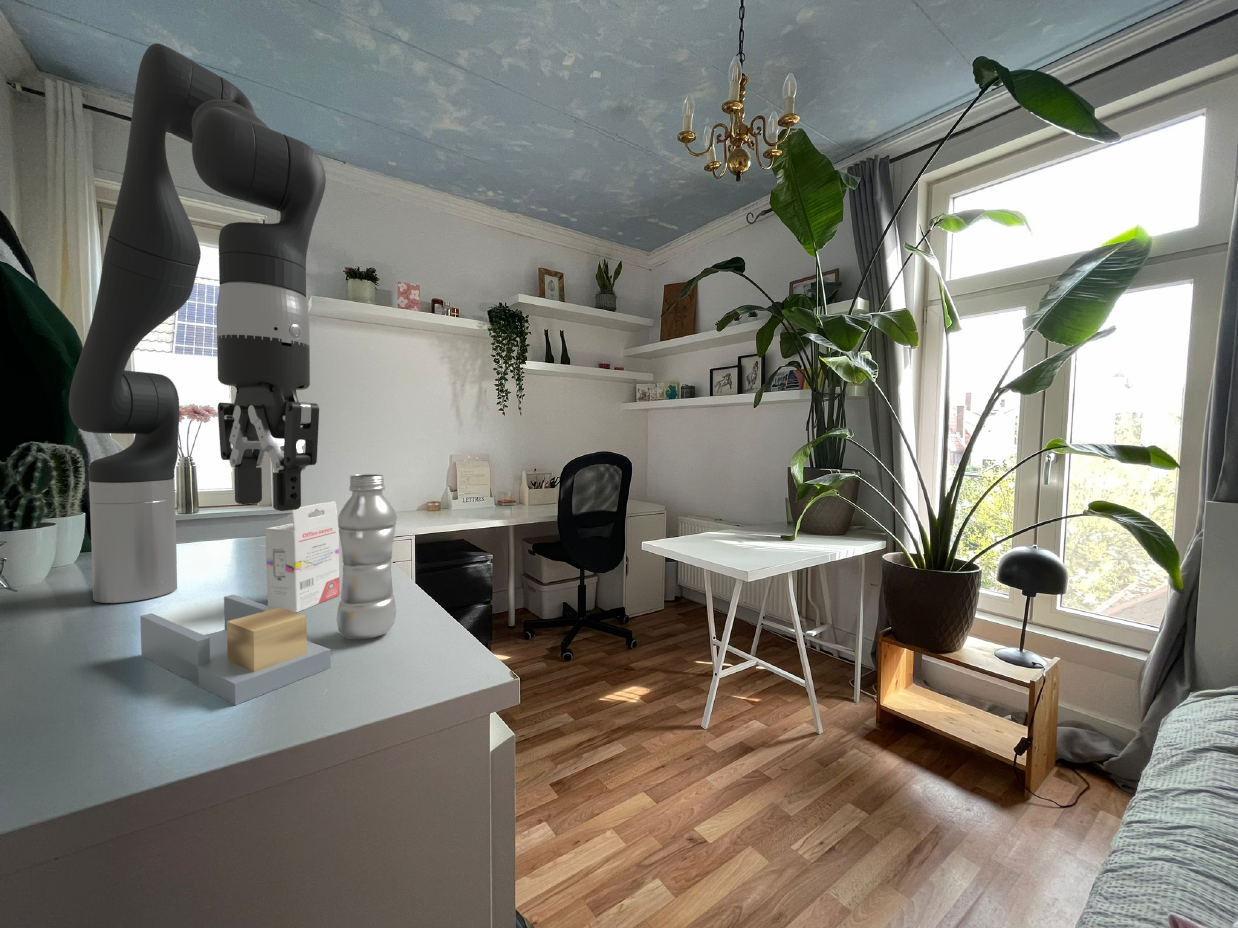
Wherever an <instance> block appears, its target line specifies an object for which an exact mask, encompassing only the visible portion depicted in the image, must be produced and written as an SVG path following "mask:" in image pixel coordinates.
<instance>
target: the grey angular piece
mask: <svg viewBox="0 0 1238 928" xmlns="http://www.w3.org/2000/svg"><path fill="white" fill-rule="evenodd" d="M223 606H224V612H223V613H224V629H223V630H220V631H219V630H218V631H216V632H212V633H209V634H205V635H203V634H202V633H199V632H197V631H195V630H193V629H190V628H188V627H185V626H183V625H180V624H178V623H176V622H175V621H171V620H169V619H166V618H164V617H163V616H159V615H157V614H155V613H152V612H151V613H147V614H143V615H140V618H139V619H140V623H139V624H140V644H141V645H140V650H141V651H140V652H141V657H143V658H145V659H147V660H149V661H150V662H152V663H155V664H156V665H158V666H160V667H162V668H163V669H166V670H168V671H170V672H171V673H173V674H176V675H177V676H179V677H180V678H182V679H185V680H186V681H189V682H191V683H192V684H195V685H196V686H198V687H200V688H202V689H203V690H205V691H208V692H210V693H211V694H213V695H214V696H215V695H216V696H217V697H219V698H221V699H223V700H225V701H227V702H228V703H230V704H232V705H235V706H237V705H240V704H242V703H245V702H247V701H249V700H252V699H255V698H257V697H259V696H262V695H264V694H267V693H270V692H272V691H274V690H277V689H280V688H283V687H285V686H287V685H289V684H292V683H295V682H298V681H300V680H302V679H305V678H307V677H310V676H312V675H315V674H318V673H320V672H322V671H326V670H328V669H330V668H331V648H328V647H326V646H322V645H320V644H317V643H314V642H312V641H309V640H307V654H304V655H301V656H298V657H295V658H293V659H290V660H287V661H284V662H282V663H279V664H276V665H273V666H270V667H268V668H265V669H262V670H259V671H256V672H253V671H251V670H248V669H246V668H244V667H242V666H239V665H237V664H235V663H233V662H230V661H228V653H227V621H230V620H234V619H238V618H242V617H245V616H249V615H253V614H257V613H260V612H264V611H268V610H271V609H275V608H273V607H270V606H268V604H267V605H266V604H263V603H260V602H257V601H254V600H251V599H248V598H246V597H242V596H238V595H236V594H230V595H225V596H224V597H223Z"/></svg>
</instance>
